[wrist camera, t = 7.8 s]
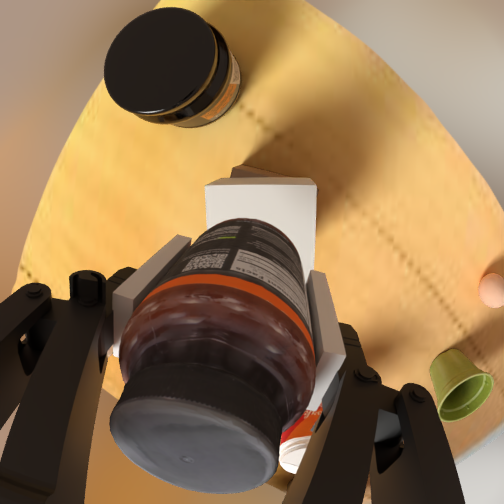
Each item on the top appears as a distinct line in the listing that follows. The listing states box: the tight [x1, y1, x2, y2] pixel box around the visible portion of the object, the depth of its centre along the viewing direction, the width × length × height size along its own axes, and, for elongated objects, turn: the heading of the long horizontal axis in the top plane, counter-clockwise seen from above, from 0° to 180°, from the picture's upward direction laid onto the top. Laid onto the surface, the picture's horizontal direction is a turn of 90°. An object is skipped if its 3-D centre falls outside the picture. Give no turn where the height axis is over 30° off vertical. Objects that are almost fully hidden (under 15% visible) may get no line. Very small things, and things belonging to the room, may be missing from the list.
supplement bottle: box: [110, 218, 316, 494], centre depth 11 cm, size 6×6×11 cm
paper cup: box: [279, 402, 323, 474], centre depth 35 cm, size 8×8×14 cm
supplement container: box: [104, 7, 242, 128], centre depth 25 cm, size 10×10×12 cm
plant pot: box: [430, 349, 494, 422], centre depth 34 cm, size 9×9×9 cm
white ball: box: [107, 345, 113, 357], centre depth 40 cm, size 8×6×6 cm
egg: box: [478, 273, 504, 308], centre depth 31 cm, size 4×4×6 cm
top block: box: [205, 177, 317, 285], centre depth 26 cm, size 8×8×6 cm
